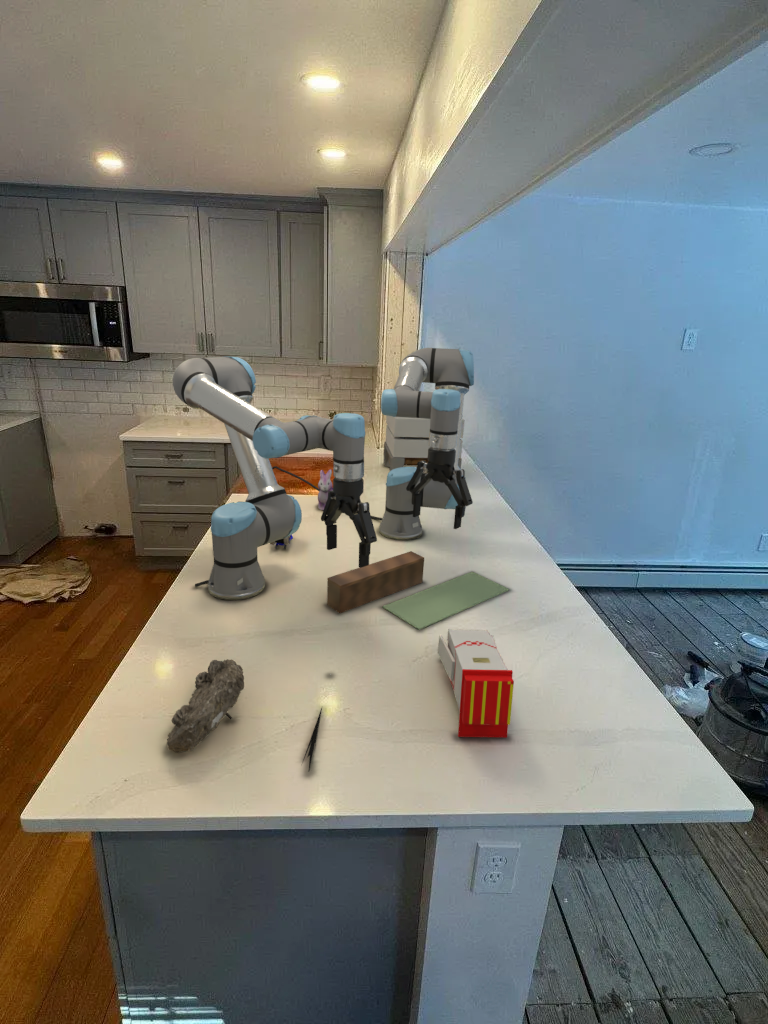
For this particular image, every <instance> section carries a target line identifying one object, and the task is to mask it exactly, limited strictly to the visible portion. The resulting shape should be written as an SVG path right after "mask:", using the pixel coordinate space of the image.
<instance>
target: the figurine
mask: <svg viewBox="0 0 768 1024" xmlns="http://www.w3.org/2000/svg"><path fill="white" fill-rule="evenodd" d="M332 471H333V470H332V469H331V468H330V469H328V471H327V472H326V473H325V471H324V469H321V470H320V471H319V481H318V483H317V488H319V489H320V491H318V493H317V502H318V503H317V508H318V510H321V511H323V510H324V508H325V505H326V502H327V499H328V491H331V490H333V481H332V480H331V478H332V475H333V472H332Z"/></svg>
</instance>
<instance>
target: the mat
mask: <svg viewBox="0 0 768 1024" xmlns="http://www.w3.org/2000/svg"><path fill="white" fill-rule="evenodd" d="M508 591H510V588H508V587H506V586H504V585H502V584H500V583H498V582H495V581H494V580H491V579H488V578H487V577H485V576H483V575H480V574H478V573H476V572H474V571H470V572H467V573H464V574H461V575H460V576H457V577H454V578H451V579H450V580H447V581H444V582H441V583H439V584H437V585H434V586H431V587H429V588H426V589H424V590H421V591H418V592H416V593H413V594H411V595H408V596H405V597H403V598H401V599H398V600H395V601H393V602H390V603H388V604H385V605H383V606H382V609H384V610H386V611H387V612H389V613H390V614H392V615H394V616H395V617H397V618H399V619H400V620H402V621H404V622H405V623H406V624H408V625H410V626H411V627H413V628H415V629H416V630H418V631H421V630H423V629H425V628H428V627H429V626H432V625H434V624H437V623H439V622H441V621H443V620H446V619H447V618H450V617H452V616H454V615H456V614H459V613H461V612H463V611H465V610H468V609H470V608H472V607H474V606H477V605H478V604H482V603H484V602H486V601H488V600H491V599H492V598H494V597H497V596H499V595H501V594H504V593H506V592H508Z"/></svg>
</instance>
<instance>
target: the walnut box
mask: <svg viewBox="0 0 768 1024" xmlns="http://www.w3.org/2000/svg"><path fill="white" fill-rule="evenodd" d="M424 568H425V557H424V556H422V555H421V554H419V553H417V552H414V551H412V550H410V551H406V552H403V553H401V554H398V555H394V556H391V557H388V558H386V559H382V560H379V561H375V562H372V563H369V565H368V566H365V567H362V568H360V567H357V568H353V569H351V570H347V571H344V572H341V573H338V574H336V575H335V574H334V575H332V576H329V577H327V578H326V579H327V580H326V581H327V586H326V605H327V606H328V607H329V608H331V609H332V610H334V611H335V612H337V613H338V614H342V613H345V612H347V611H350V610H353V609H356V608H358V607H361V606H364V605H366V604H369V603H371V602H374V601H377V600H379V599H382V598H385V597H388V596H390V595H394V594H396V593H398V592H400V591H403V590H406V589H409V588H411V587H414V586H417V585H420V584H422V583H423V581H424V570H425V569H424Z"/></svg>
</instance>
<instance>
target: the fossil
mask: <svg viewBox="0 0 768 1024" xmlns="http://www.w3.org/2000/svg"><path fill="white" fill-rule="evenodd" d="M243 670H244V669H243V667H242V665H240V664H237V662H236V661H235V660H234V659H232V658H231V659H227V658H226V659H224V660H223V661H222V660H217V659H212V660H211V661H210V663H209V665H208V666H207V671H201V672H199V673H198V674H197V675H196V676H195V680H194V684H195V685H194V687H195V689H194V690H193V693H192V694H191V697H190V698H189V700H188V704H184V705H182V706H181V707H180V709H177V710H176V711H175V713H174V715H173V716H172V718H171V723H172V724H173V727H172V730H171V731H170V732H168V734H167V738H166V741H167V742H166V745H167V749H168V750H169V751H173V752H174V753H176V754H178V753H182V752H188V751H189V752H192V751H193V750H195V748H196V747H197V746H199V744H200V743H201V742H203V741H204V740H205V739H206V738H207V737H208V736H209V735H210V734H211V733H212V732H214V730H215V729H217V727H218V726H219V724H220V722H221V721H222V720H223V719H224V718H225V716H226V717H227V719H229V720H233V717H232V715H230V714H229V710H230V709H231V708H234V706H235V704H236V703H237V702H238V699H239V697H240V695H241V693H242V691H243V690H245V689H244V688H245V675H244V671H243Z"/></svg>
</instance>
